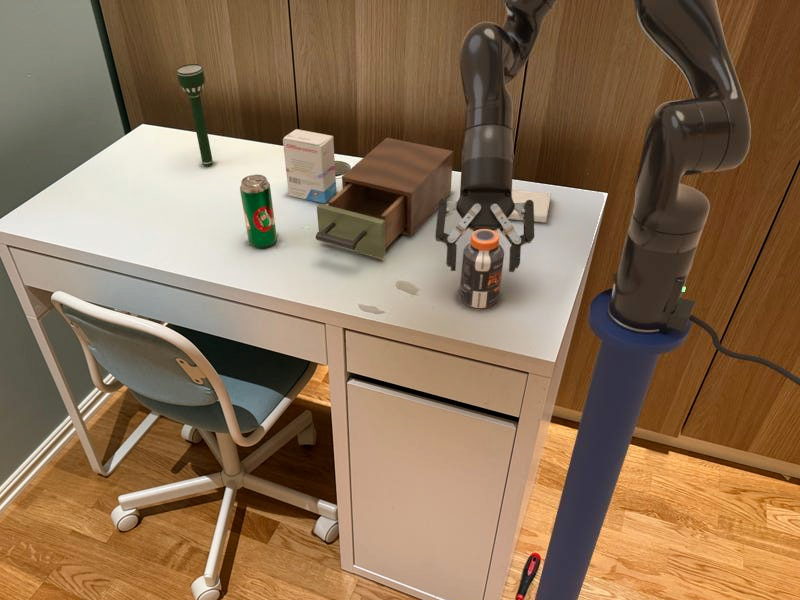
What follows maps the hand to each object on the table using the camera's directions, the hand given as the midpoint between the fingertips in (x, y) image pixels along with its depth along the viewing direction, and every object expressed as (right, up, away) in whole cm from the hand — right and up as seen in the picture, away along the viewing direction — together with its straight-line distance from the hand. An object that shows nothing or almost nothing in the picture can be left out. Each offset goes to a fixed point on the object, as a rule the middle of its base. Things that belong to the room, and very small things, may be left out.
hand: (482, 270), depth 106 cm
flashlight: (-48, +28, +45) cm, 71 cm away
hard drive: (+11, +14, +23) cm, 29 cm away
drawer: (-16, +9, +19) cm, 26 cm away
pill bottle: (+1, -4, +5) cm, 6 cm away
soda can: (-34, +8, +21) cm, 41 cm away
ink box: (-25, +19, +32) cm, 45 cm away
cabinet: (-10, +15, +26) cm, 32 cm away
